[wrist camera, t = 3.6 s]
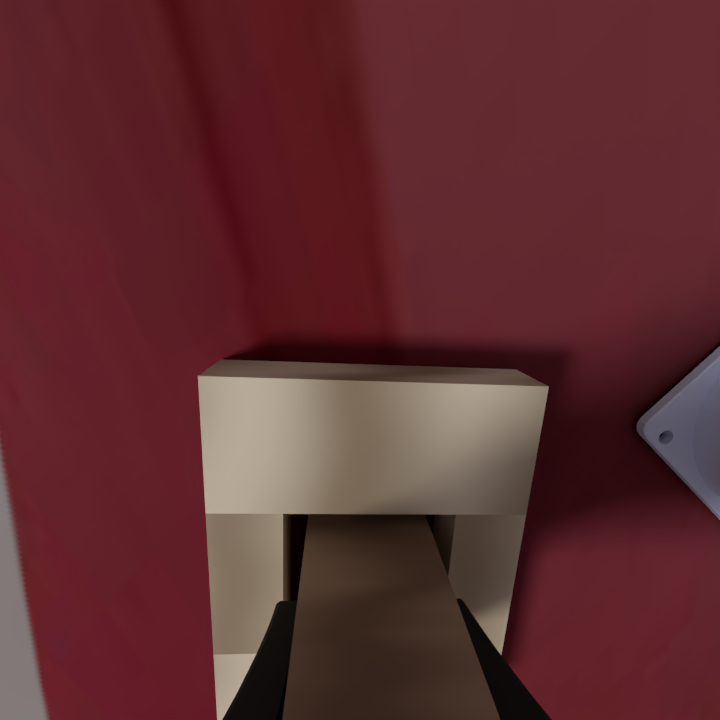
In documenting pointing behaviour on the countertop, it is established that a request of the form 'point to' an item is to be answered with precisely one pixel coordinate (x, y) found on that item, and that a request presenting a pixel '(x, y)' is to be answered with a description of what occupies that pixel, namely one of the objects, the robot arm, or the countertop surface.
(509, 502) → the holder block
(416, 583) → the plug peg
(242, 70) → the countertop surface
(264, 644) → the robot arm
